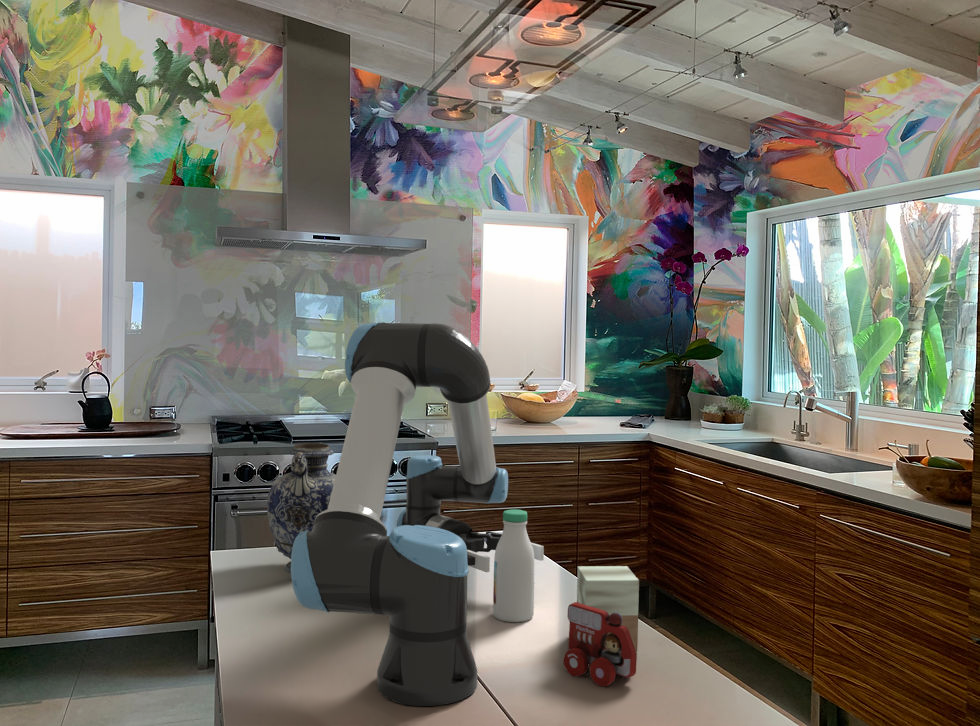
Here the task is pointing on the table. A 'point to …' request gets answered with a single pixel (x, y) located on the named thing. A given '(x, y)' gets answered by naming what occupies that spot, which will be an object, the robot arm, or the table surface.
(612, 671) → the toy fire truck
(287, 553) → the decorative vase
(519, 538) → the milk bottle
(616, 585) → the tower stack
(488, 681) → the table surface
